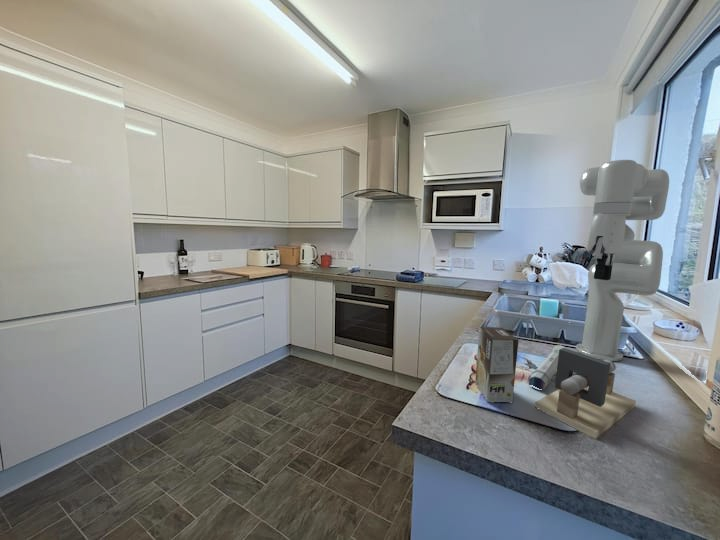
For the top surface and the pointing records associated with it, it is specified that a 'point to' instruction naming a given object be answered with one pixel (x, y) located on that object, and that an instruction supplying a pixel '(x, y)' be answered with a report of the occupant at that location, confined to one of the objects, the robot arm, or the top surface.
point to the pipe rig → (586, 405)
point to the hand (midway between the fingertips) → (601, 279)
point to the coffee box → (496, 364)
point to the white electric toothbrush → (545, 370)
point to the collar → (587, 367)
